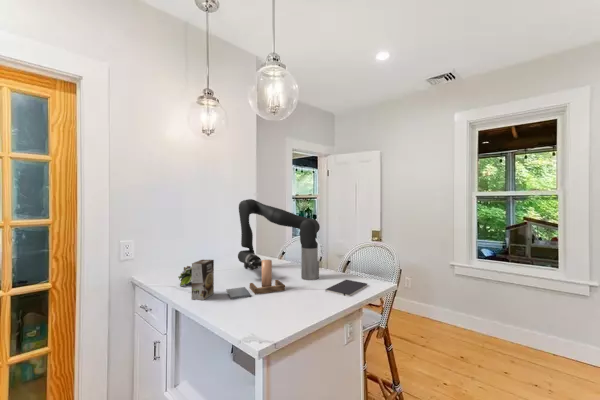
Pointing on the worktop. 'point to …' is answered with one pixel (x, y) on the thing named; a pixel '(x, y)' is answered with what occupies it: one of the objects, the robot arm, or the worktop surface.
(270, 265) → the canister
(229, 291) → the slate pad
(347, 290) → the notebook
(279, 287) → the wooden u-shaped frame
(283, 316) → the worktop surface
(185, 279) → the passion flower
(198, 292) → the coffee box
